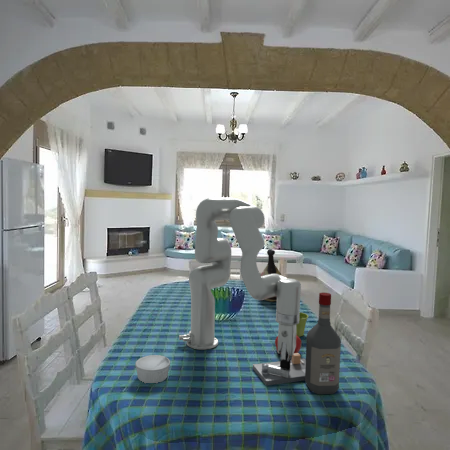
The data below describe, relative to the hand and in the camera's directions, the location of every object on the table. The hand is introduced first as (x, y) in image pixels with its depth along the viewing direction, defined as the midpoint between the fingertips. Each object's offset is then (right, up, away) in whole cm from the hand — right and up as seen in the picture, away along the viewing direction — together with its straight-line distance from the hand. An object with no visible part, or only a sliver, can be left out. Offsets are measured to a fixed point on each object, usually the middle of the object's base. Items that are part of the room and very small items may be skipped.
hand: (284, 370), depth 124 cm
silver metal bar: (-3, -1, -1) cm, 3 cm away
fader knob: (+5, 0, +8) cm, 9 cm away
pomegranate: (+4, -1, +21) cm, 21 cm away
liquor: (+11, -3, -5) cm, 12 cm away
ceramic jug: (+7, +5, +93) cm, 94 cm away
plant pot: (+11, 0, +40) cm, 41 cm away
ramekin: (-43, -2, -1) cm, 43 cm away
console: (+1, -2, +4) cm, 4 cm away
